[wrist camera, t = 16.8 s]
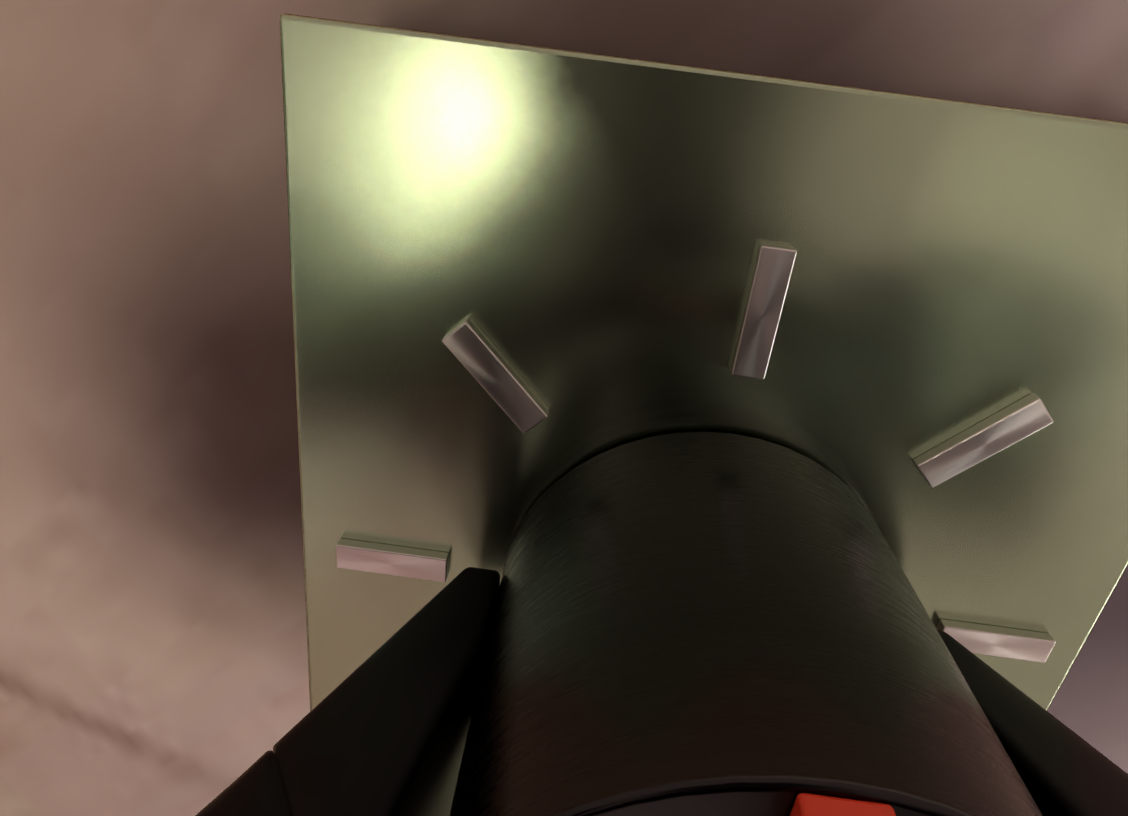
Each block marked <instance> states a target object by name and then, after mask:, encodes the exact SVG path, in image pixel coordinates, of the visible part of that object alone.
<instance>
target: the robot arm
mask: <svg viewBox="0 0 1128 816" xmlns="http://www.w3.org/2000/svg"><path fill="white" fill-rule="evenodd" d="M499 587H500V574H499V572H498V571H496V570H490V569H483V568H475V567H468V568H465V569H464V570H463V571H462V572H461V573H460V574H458V575H457V576H456V577H455V578H454V579H453V580H452V581H451V582H450V583H449V584H448V585H447V586H446V587H444V588H443V589H442V590H441V591H440V592H439V593H438V594H437V595H436V596H435V597H434V598H433V599H431V600H430V601H429V602H428V603H427V604H426V605H425V606H424V607H423V608H422V609H421V610H420V611H419V612H417V613H416V614H415V615H414V616H413V617H412V618H411V619H410V620H409V621H408V622H407V623H406V624H405V625H403V626H402V627H401V628H400V629H399V630H398V631H397V632H396V633H395V634H394V635H393V636H392V637H390V638H389V639H388V640H387V641H386V642H385V643H384V644H383V645H382V646H381V647H380V648H379V649H378V650H376V651H375V652H374V653H373V654H372V655H371V656H370V657H369V658H368V659H367V660H366V661H365V662H364V663H362V664H361V665H360V666H359V667H358V668H357V669H356V670H355V671H354V672H353V673H352V674H351V675H350V676H348V677H347V678H346V679H345V680H344V681H343V682H342V683H341V684H340V685H339V686H338V687H337V688H335V689H334V690H333V691H332V692H331V693H330V694H329V695H328V696H327V697H326V698H325V699H324V700H323V701H321V702H320V703H319V704H318V705H317V706H316V707H315V708H314V709H313V710H312V711H311V712H310V713H309V714H307V715H306V716H305V717H304V718H303V719H302V720H301V721H300V722H299V723H298V724H297V725H296V726H294V727H293V728H292V729H291V730H290V731H289V732H288V733H287V734H286V735H285V736H284V737H283V738H282V739H280V740H279V741H278V742H277V743H276V744H275V745H274V747H273V751H267V752H266V753H265V754H264V755H263V756H262V757H260V758H259V759H258V760H257V761H256V762H255V763H254V764H253V765H252V766H251V767H250V768H249V769H248V770H247V771H245V772H244V773H243V774H242V775H241V776H240V777H239V778H238V779H237V780H236V781H234V782H233V783H232V784H231V785H230V786H229V787H228V788H226V789H225V790H224V791H223V792H222V793H221V794H220V795H218V796H217V797H216V798H215V799H214V800H213V801H212V802H210V803H209V804H208V805H207V806H206V807H205V808H204V809H203V810H201V811H200V812H199V813H198V814H197V815H196V816H449V815H450V810H451V806H452V801H453V797H454V792H455V788H456V783H457V778H458V774H459V769H460V765H461V760H462V756H463V751H464V747H465V742H466V737H467V733H468V728H469V724H470V719H471V715H472V710H473V706H474V701H475V696H476V692H477V687H478V683H479V678H480V674H481V669H482V665H483V660H484V655H485V651H486V646H487V642H488V637H489V633H490V628H491V624H492V619H493V614H494V610H495V605H496V601H497V596H498V592H499ZM937 631H938V633H939V634H940V636H941V638H942V640H943V641H944V643H945V645H946V647H947V648H948V650H949V652H950V654H951V655H952V657H953V659H954V661H955V662H956V664H957V666H958V668H959V670H960V671H961V673H962V675H963V677H964V678H965V680H966V682H967V684H968V685H969V687H970V689H971V691H972V692H973V694H974V696H975V698H976V699H977V701H978V703H979V705H980V706H981V708H982V710H983V712H984V713H985V715H986V717H987V719H988V720H989V722H990V724H991V726H992V728H993V729H994V731H995V733H996V735H997V736H998V738H999V740H1000V742H1001V743H1002V745H1003V747H1004V749H1005V750H1006V752H1007V754H1008V756H1009V757H1010V759H1011V761H1012V763H1013V764H1014V766H1015V768H1016V770H1017V771H1018V773H1019V775H1020V777H1021V778H1022V780H1023V782H1024V784H1025V786H1026V787H1027V789H1028V791H1029V793H1030V794H1031V796H1032V798H1033V800H1034V801H1035V803H1036V805H1037V807H1038V808H1039V810H1040V812H1041V814H1042V815H1043V816H1128V774H1127V773H1126V772H1124V771H1123V770H1122V769H1121V768H1119V767H1118V766H1117V765H1115V764H1114V763H1113V762H1112V761H1110V760H1109V759H1108V758H1106V757H1105V756H1104V755H1103V754H1101V753H1100V752H1099V751H1097V750H1096V749H1095V748H1094V747H1092V746H1091V745H1090V744H1088V743H1087V742H1086V741H1085V740H1083V739H1082V738H1081V737H1080V736H1078V735H1077V734H1076V733H1074V732H1073V731H1072V730H1071V729H1069V728H1068V727H1067V726H1065V725H1064V724H1063V723H1062V722H1060V721H1059V720H1058V719H1056V718H1055V717H1054V716H1053V715H1051V714H1050V713H1049V712H1047V711H1046V710H1045V709H1044V708H1042V707H1041V706H1040V705H1039V704H1037V703H1036V702H1035V701H1033V700H1032V699H1031V698H1030V697H1028V696H1027V695H1026V694H1024V693H1023V692H1022V691H1021V690H1019V689H1018V688H1017V687H1015V686H1014V685H1013V684H1012V683H1010V682H1009V681H1008V680H1006V679H1005V678H1004V677H1003V676H1001V675H1000V674H999V673H998V672H996V671H995V670H994V669H992V668H991V667H990V666H989V665H987V664H986V663H985V662H983V661H982V660H981V659H980V658H978V657H977V656H976V655H974V654H973V653H972V652H971V651H969V650H968V649H967V648H966V647H964V646H963V645H962V644H960V643H959V642H958V641H957V640H955V639H954V638H953V637H951V636H950V635H949V634H947V633H946V632H944V631H941V630H937Z"/></svg>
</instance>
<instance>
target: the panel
mask: <svg viewBox="0 0 1128 816" xmlns="http://www.w3.org/2000/svg"><path fill="white" fill-rule="evenodd" d="M280 35H281V58H282V81H283V103H284V126H285V149H286V171H287V194H288V216H289V239H290V262H291V284H292V307H293V330H294V352H295V375H296V397H297V420H298V443H299V465H300V488H301V511H302V533H303V556H304V578H305V601H306V624H307V646H308V669H309V692H310V712H311V711H312V710H313V709H314V708H315V707H316V706H317V705H318V704H319V703H320V702H321V701H323V700H324V699H325V698H326V697H327V696H328V695H329V694H330V693H331V692H332V691H333V690H334V689H335V688H337V687H338V686H339V685H340V684H341V683H342V682H343V681H344V680H345V679H346V678H347V677H348V676H350V675H351V674H352V673H353V672H354V671H355V670H356V669H357V668H358V667H359V666H360V665H361V664H362V663H364V662H365V661H366V660H367V659H368V658H369V657H370V656H371V655H372V654H373V653H374V652H375V651H376V650H378V649H379V648H380V647H381V646H382V645H383V644H384V643H385V642H386V641H387V640H388V639H389V638H390V637H392V636H393V635H394V634H395V633H396V632H397V631H398V630H399V629H400V628H401V627H402V626H403V625H405V624H406V623H407V622H408V621H409V620H410V619H411V618H412V617H413V616H414V615H415V614H416V613H417V612H419V611H420V610H421V609H422V608H423V607H424V606H425V605H426V604H427V603H428V602H429V601H430V600H431V599H433V598H434V597H435V596H436V595H437V594H438V593H439V592H440V591H441V590H442V589H443V588H444V587H446V586H447V585H448V584H449V583H450V582H451V581H452V580H453V579H454V578H455V577H456V576H457V575H458V574H460V573H461V572H462V571H463V570H464V569H465V568H468V567H475V568H483V569H490V570H496V571H498V572H499V574H500V582H501V578H502V573H503V569H504V564H505V560H506V556H507V553H508V550H509V547H510V545H511V542H512V539H513V537H514V535H515V533H516V531H517V529H518V527H519V526H520V524H521V522H522V520H523V518H524V517H525V516H526V514H527V513H528V512H529V510H530V509H531V508H532V506H533V505H534V504H535V502H536V501H537V500H538V499H539V498H540V497H541V496H542V495H543V494H544V493H545V492H546V491H547V490H548V489H549V488H550V487H551V486H552V485H553V484H554V483H555V482H557V481H558V480H559V479H561V478H562V477H563V476H565V475H566V474H567V473H569V472H570V471H571V470H573V469H574V468H575V467H577V466H579V465H581V464H582V463H584V462H586V461H588V460H589V459H591V458H593V457H595V456H596V455H598V454H601V453H603V452H605V451H608V450H610V449H613V448H615V447H618V446H620V445H622V444H626V443H629V442H633V441H636V440H640V439H644V438H647V437H652V436H658V435H665V434H671V433H679V432H703V431H705V432H719V433H732V434H737V435H743V436H748V437H753V438H758V439H762V440H765V441H768V442H771V443H774V444H777V445H780V446H783V447H786V448H789V449H791V450H793V451H795V452H797V453H799V454H801V455H804V456H806V457H808V458H810V459H812V460H813V461H815V462H816V463H818V464H820V465H821V466H823V467H824V468H826V469H827V470H829V471H830V472H832V473H833V474H834V475H836V476H837V477H838V478H839V479H840V480H841V481H842V482H844V483H845V484H846V485H847V486H848V487H849V488H850V489H851V490H852V491H853V492H854V493H855V494H856V495H857V497H858V498H859V499H860V500H861V501H862V502H863V504H864V505H865V506H866V507H867V509H868V511H869V512H870V514H871V516H872V517H873V519H874V520H875V522H876V524H877V525H878V527H879V529H880V531H881V532H882V534H883V536H884V538H885V539H886V541H887V543H888V545H889V546H890V548H891V550H892V552H893V553H894V555H895V557H896V559H897V561H898V562H899V564H900V566H901V568H902V569H903V571H904V573H905V575H906V576H907V578H908V580H909V582H910V583H911V585H912V587H913V589H914V590H915V592H916V594H917V596H918V597H919V599H920V601H921V603H922V604H923V606H924V608H925V610H926V612H927V613H928V615H929V617H930V619H931V620H932V622H933V624H934V626H935V627H936V629H937V630H941V631H944V632H946V633H947V634H949V635H950V636H951V637H953V638H954V639H955V640H957V641H958V642H959V643H960V644H962V645H963V646H964V647H966V648H967V649H968V650H969V651H971V652H972V653H973V654H974V655H976V656H977V657H978V658H980V659H981V660H982V661H983V662H985V663H986V664H987V665H989V666H990V667H991V668H992V669H994V670H995V671H996V672H998V673H999V674H1000V675H1001V676H1003V677H1004V678H1005V679H1006V680H1008V681H1009V682H1010V683H1012V684H1013V685H1014V686H1015V687H1017V688H1018V689H1019V690H1021V691H1022V692H1023V693H1024V694H1026V695H1027V696H1028V697H1030V698H1031V699H1032V700H1033V701H1035V702H1036V703H1037V704H1039V705H1040V706H1041V707H1042V708H1044V709H1045V710H1046V711H1047V710H1048V708H1049V706H1050V705H1051V703H1052V701H1053V699H1054V697H1055V696H1056V694H1057V692H1058V690H1059V688H1060V686H1061V685H1062V683H1063V681H1064V679H1065V677H1066V676H1067V674H1068V672H1069V670H1070V668H1071V667H1072V665H1073V663H1074V661H1075V659H1076V658H1077V656H1078V654H1079V652H1080V650H1081V649H1082V647H1083V645H1084V643H1085V641H1086V640H1087V638H1088V636H1089V634H1090V632H1091V631H1092V629H1093V627H1094V625H1095V623H1096V622H1097V620H1098V618H1099V616H1100V614H1101V613H1102V611H1103V609H1104V607H1105V605H1106V604H1107V602H1108V600H1109V598H1110V596H1111V594H1112V593H1113V591H1114V589H1115V587H1116V585H1117V584H1118V582H1119V580H1120V578H1121V576H1122V575H1123V573H1124V571H1125V569H1126V567H1127V566H1128V123H1124V122H1117V121H1109V120H1101V119H1093V118H1086V117H1078V116H1070V115H1063V114H1055V113H1047V112H1040V111H1032V110H1024V109H1016V108H1009V107H1001V106H993V105H986V104H978V103H970V102H963V101H955V100H947V99H939V98H932V97H924V96H916V95H909V94H901V93H893V92H886V91H878V90H870V89H862V88H855V87H847V86H839V85H832V84H824V83H816V82H809V81H801V80H793V79H785V78H778V77H770V76H762V75H755V74H747V73H739V72H732V71H724V70H716V69H708V68H701V67H693V66H685V65H678V64H670V63H662V62H655V61H647V60H639V59H631V58H624V57H616V56H608V55H601V54H593V53H585V52H578V51H570V50H562V49H554V48H547V47H539V46H531V45H524V44H516V43H508V42H501V41H493V40H485V39H477V38H470V37H462V36H454V35H447V34H439V33H431V32H424V31H416V30H408V29H401V28H393V27H385V26H377V25H370V24H362V23H354V22H347V21H339V20H331V19H324V18H316V17H308V16H300V15H293V14H283V15H281V17H280Z"/></svg>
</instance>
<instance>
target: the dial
mask: <svg viewBox="0 0 1128 816" xmlns="http://www.w3.org/2000/svg"><path fill="white" fill-rule="evenodd" d="M449 816H1043V815H1042V814H1041V812H1040V810H1039V808H1038V807H1037V805H1036V803H1035V801H1034V800H1033V798H1032V796H1031V794H1030V793H1029V791H1028V789H1027V787H1026V786H1025V784H1024V782H1023V780H1022V778H1021V777H1020V775H1019V773H1018V771H1017V770H1016V768H1015V766H1014V764H1013V763H1012V761H1011V759H1010V757H1009V756H1008V754H1007V752H1006V750H1005V749H1004V747H1003V745H1002V743H1001V742H1000V740H999V738H998V736H997V735H996V733H995V731H994V729H993V728H992V726H991V724H990V722H989V720H988V719H987V717H986V715H985V713H984V712H983V710H982V708H981V706H980V705H979V703H978V701H977V699H976V698H975V696H974V694H973V692H972V691H971V689H970V687H969V685H968V684H967V682H966V680H965V678H964V677H963V675H962V673H961V671H960V670H959V668H958V666H957V664H956V662H955V661H954V659H953V657H952V655H951V654H950V652H949V650H948V648H947V647H946V645H945V643H944V641H943V640H942V638H941V636H940V634H939V633H938V631H937V629H936V627H935V626H934V624H933V622H932V620H931V619H930V617H929V615H928V613H927V612H926V610H925V608H924V606H923V604H922V603H921V601H920V599H919V597H918V596H917V594H916V592H915V590H914V589H913V587H912V585H911V583H910V582H909V580H908V578H907V576H906V575H905V573H904V571H903V569H902V568H901V566H900V564H899V562H898V561H897V559H896V557H895V555H894V553H893V552H892V550H891V548H890V546H889V545H888V543H887V541H886V539H885V538H884V536H883V534H882V532H881V531H880V529H879V527H878V525H877V524H876V522H875V520H874V519H873V517H872V516H871V514H870V512H869V511H868V509H867V507H866V506H865V505H864V504H863V502H862V501H861V500H860V499H859V498H858V497H857V495H856V494H855V493H854V492H853V491H852V490H851V489H850V488H849V487H848V486H847V485H846V484H845V483H844V482H842V481H841V480H840V479H839V478H838V477H837V476H836V475H834V474H833V473H832V472H830V471H829V470H827V469H826V468H824V467H823V466H821V465H820V464H818V463H816V462H815V461H813V460H812V459H810V458H808V457H806V456H804V455H801V454H799V453H797V452H795V451H793V450H791V449H789V448H786V447H783V446H780V445H777V444H774V443H771V442H768V441H765V440H762V439H758V438H753V437H748V436H743V435H737V434H732V433H719V432H705V431H703V432H679V433H671V434H665V435H658V436H652V437H647V438H644V439H640V440H636V441H633V442H629V443H626V444H622V445H620V446H618V447H615V448H613V449H610V450H608V451H605V452H603V453H601V454H598V455H596V456H595V457H593V458H591V459H589V460H588V461H586V462H584V463H582V464H581V465H579V466H577V467H575V468H574V469H573V470H571V471H570V472H569V473H567V474H566V475H565V476H563V477H562V478H561V479H559V480H558V481H557V482H555V483H554V484H553V485H552V486H551V487H550V488H549V489H548V490H547V491H546V492H545V493H544V494H543V495H542V496H541V497H540V498H539V499H538V500H537V501H536V502H535V504H534V505H533V506H532V508H531V509H530V510H529V512H528V513H527V514H526V516H525V517H524V518H523V520H522V522H521V524H520V526H519V527H518V529H517V531H516V533H515V535H514V537H513V539H512V542H511V545H510V547H509V550H508V553H507V556H506V560H505V564H504V569H503V573H502V578H501V582H500V587H499V592H498V596H497V601H496V605H495V610H494V614H493V619H492V624H491V628H490V633H489V637H488V642H487V646H486V651H485V655H484V660H483V665H482V669H481V674H480V678H479V683H478V687H477V692H476V696H475V701H474V706H473V710H472V715H471V719H470V724H469V728H468V733H467V737H466V742H465V747H464V751H463V756H462V760H461V765H460V769H459V774H458V778H457V783H456V788H455V792H454V797H453V801H452V806H451V810H450V815H449Z"/></svg>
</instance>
